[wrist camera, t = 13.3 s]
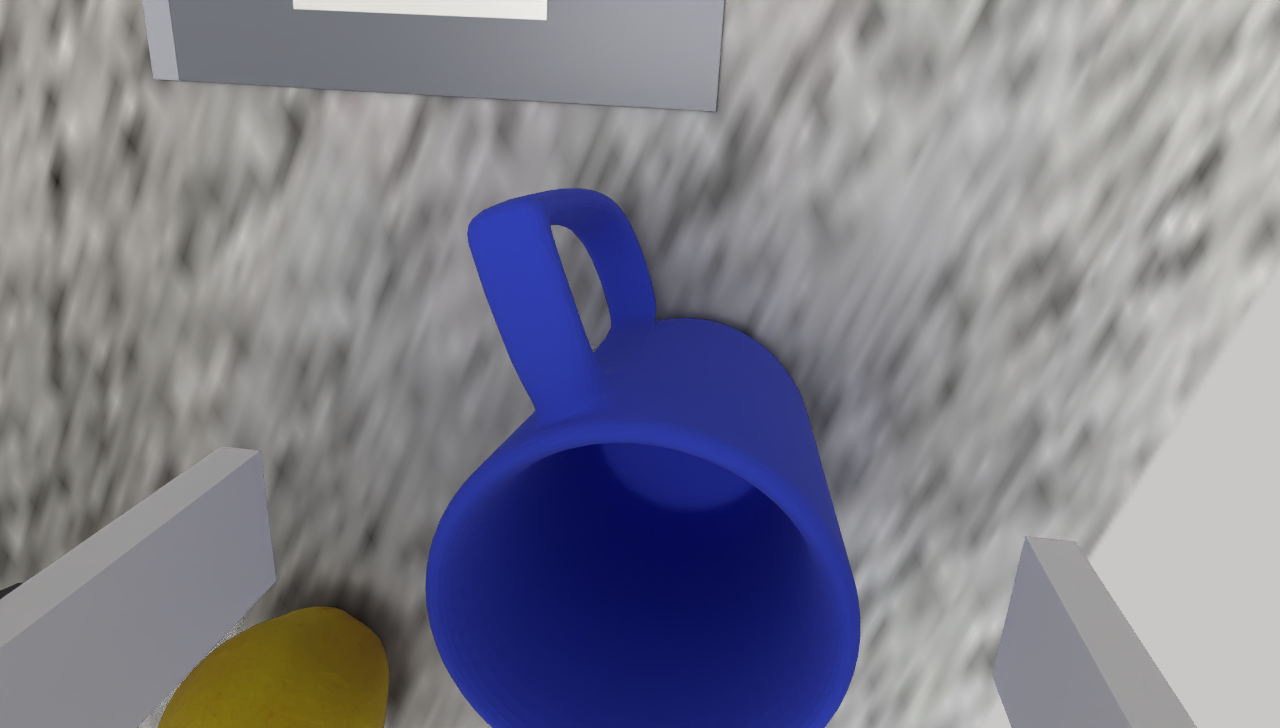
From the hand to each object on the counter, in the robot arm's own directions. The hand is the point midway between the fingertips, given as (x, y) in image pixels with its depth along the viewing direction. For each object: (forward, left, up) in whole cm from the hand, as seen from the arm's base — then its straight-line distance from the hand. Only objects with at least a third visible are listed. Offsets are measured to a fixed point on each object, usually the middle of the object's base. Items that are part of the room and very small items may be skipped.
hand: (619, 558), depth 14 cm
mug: (0, 0, -11) cm, 11 cm away
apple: (-12, -12, -11) cm, 20 cm away
